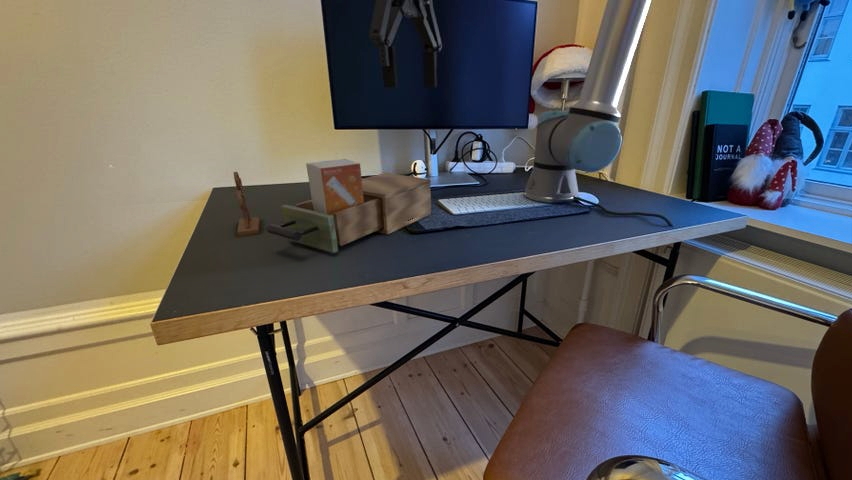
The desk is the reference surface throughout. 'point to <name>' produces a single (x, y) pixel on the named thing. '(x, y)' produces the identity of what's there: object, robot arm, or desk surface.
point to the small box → (335, 185)
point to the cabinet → (399, 198)
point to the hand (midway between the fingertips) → (412, 87)
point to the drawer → (329, 224)
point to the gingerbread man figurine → (245, 212)
